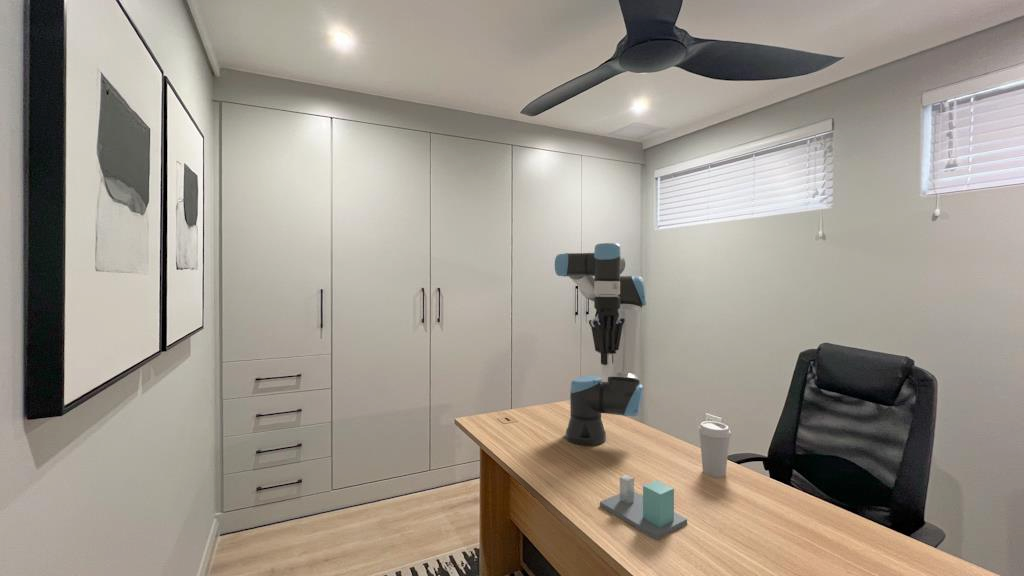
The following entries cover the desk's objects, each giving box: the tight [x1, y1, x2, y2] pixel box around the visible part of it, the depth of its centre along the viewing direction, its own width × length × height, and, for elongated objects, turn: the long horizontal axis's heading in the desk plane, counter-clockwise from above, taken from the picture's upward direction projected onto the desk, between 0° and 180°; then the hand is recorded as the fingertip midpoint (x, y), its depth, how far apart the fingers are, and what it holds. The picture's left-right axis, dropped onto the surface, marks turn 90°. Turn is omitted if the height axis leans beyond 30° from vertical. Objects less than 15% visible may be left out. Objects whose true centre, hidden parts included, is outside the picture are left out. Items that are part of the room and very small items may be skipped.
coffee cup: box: [697, 420, 732, 478], centre depth 133 cm, size 10×10×15 cm
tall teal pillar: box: [642, 480, 675, 527], centre depth 105 cm, size 5×5×8 cm
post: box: [619, 474, 635, 505], centre depth 114 cm, size 3×3×6 cm
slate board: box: [599, 491, 688, 541], centre depth 110 cm, size 18×12×1 cm, turn 34°
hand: (607, 375), depth 126 cm, fingers closed
